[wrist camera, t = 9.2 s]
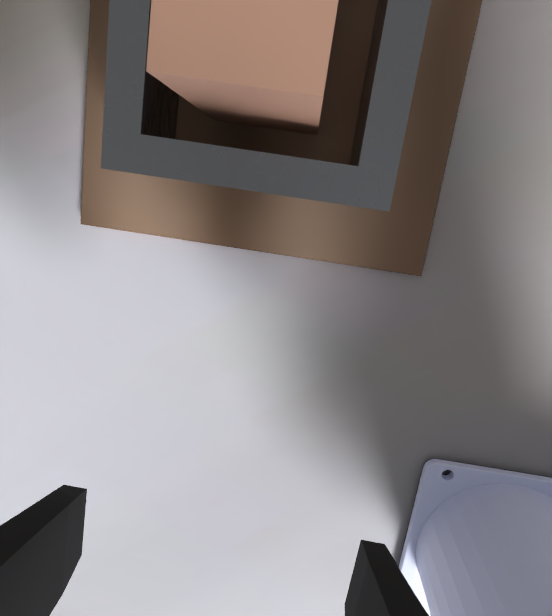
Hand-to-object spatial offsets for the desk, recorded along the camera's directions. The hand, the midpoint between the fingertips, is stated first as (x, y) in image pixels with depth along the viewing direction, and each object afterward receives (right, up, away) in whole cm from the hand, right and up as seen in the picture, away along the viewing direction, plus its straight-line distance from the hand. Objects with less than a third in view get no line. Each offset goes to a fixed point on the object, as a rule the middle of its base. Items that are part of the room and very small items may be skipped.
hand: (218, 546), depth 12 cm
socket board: (+1, +15, +6) cm, 17 cm away
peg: (+1, +15, +6) cm, 16 cm away
